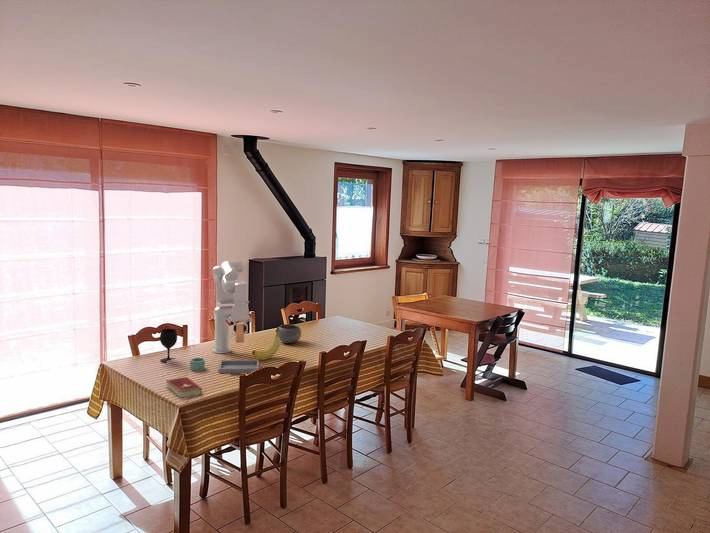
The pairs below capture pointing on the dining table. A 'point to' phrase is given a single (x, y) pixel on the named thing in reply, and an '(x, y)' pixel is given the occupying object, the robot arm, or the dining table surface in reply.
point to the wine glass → (168, 341)
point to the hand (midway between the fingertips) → (239, 331)
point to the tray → (238, 366)
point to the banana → (268, 349)
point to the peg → (239, 333)
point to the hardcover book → (183, 387)
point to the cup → (197, 364)
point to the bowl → (289, 333)
